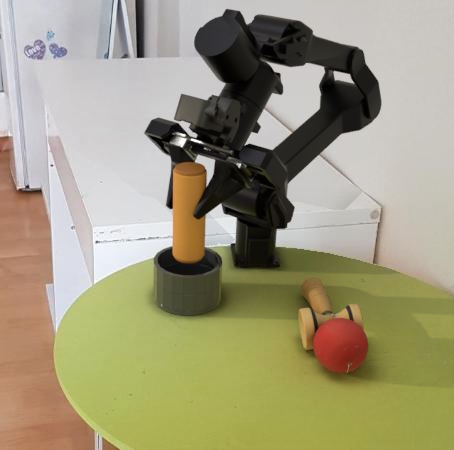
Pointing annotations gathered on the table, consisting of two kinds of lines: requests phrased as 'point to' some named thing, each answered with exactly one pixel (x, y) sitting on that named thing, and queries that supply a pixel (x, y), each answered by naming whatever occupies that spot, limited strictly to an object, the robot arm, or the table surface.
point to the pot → (187, 283)
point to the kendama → (332, 330)
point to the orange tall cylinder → (188, 212)
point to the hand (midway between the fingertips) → (181, 212)
